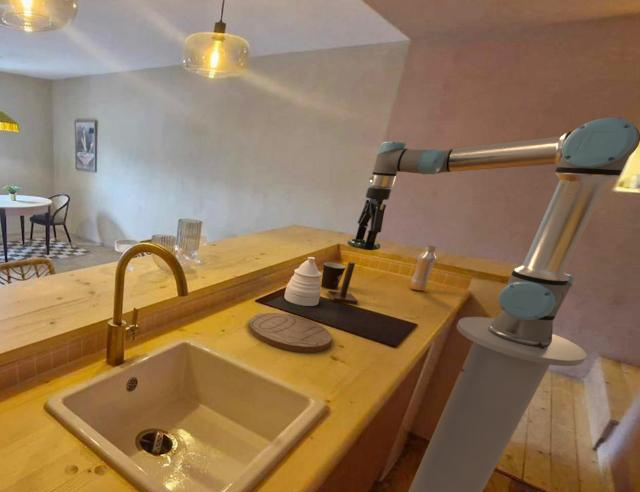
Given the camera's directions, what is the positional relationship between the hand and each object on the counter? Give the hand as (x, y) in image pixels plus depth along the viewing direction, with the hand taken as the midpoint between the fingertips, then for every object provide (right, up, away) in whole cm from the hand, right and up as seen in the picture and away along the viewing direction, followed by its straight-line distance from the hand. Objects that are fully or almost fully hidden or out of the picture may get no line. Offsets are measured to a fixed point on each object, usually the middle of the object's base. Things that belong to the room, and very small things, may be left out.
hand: (362, 246), depth 151 cm
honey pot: (-21, -21, +6) cm, 30 cm away
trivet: (-39, -32, -24) cm, 56 cm away
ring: (0, +1, 0) cm, 1 cm away
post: (-3, -20, +9) cm, 23 cm away
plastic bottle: (+40, -16, +26) cm, 50 cm away
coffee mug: (+1, -15, +24) cm, 28 cm away
